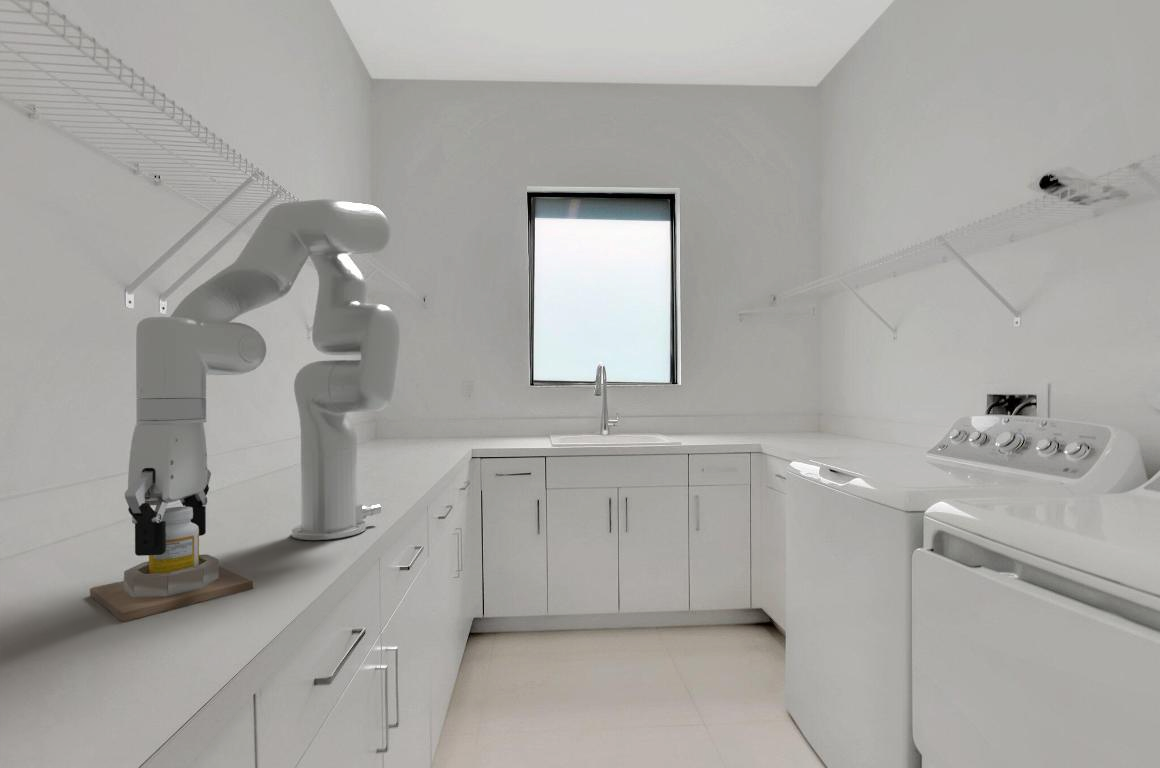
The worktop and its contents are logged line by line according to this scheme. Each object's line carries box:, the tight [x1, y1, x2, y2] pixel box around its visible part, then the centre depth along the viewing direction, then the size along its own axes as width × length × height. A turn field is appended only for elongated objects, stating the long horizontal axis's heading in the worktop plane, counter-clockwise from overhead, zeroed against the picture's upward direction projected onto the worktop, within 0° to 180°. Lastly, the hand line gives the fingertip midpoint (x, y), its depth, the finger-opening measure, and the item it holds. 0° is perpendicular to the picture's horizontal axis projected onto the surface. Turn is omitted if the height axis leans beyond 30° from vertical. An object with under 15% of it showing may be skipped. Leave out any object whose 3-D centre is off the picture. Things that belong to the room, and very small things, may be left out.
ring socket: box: [89, 554, 254, 623], centre depth 76 cm, size 14×14×4 cm
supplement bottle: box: [148, 506, 200, 574], centre depth 76 cm, size 5×5×10 cm
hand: (172, 544), depth 76 cm, fingers open, 9 cm apart
